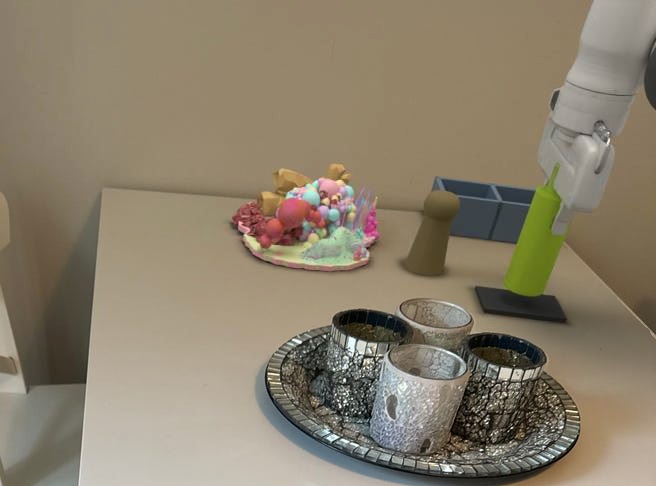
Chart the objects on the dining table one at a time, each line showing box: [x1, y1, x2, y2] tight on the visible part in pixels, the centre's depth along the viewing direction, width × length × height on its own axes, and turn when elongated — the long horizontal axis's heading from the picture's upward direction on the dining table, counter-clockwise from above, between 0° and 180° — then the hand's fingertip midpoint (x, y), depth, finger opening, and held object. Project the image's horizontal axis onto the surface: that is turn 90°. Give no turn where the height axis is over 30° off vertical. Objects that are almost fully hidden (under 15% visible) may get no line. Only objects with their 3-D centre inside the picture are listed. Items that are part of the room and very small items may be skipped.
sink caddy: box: [430, 175, 537, 244], centre depth 154 cm, size 19×9×6 cm, turn 86°
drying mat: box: [474, 285, 568, 324], centre depth 134 cm, size 12×8×1 cm, turn 86°
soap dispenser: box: [502, 162, 574, 296], centre depth 125 cm, size 6×7×20 cm
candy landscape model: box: [231, 163, 380, 272], centre depth 142 cm, size 25×24×9 cm
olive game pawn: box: [404, 190, 460, 277], centre depth 137 cm, size 6×6×11 cm
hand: (550, 223), depth 126 cm, fingers closed on soap dispenser, 6 cm apart
